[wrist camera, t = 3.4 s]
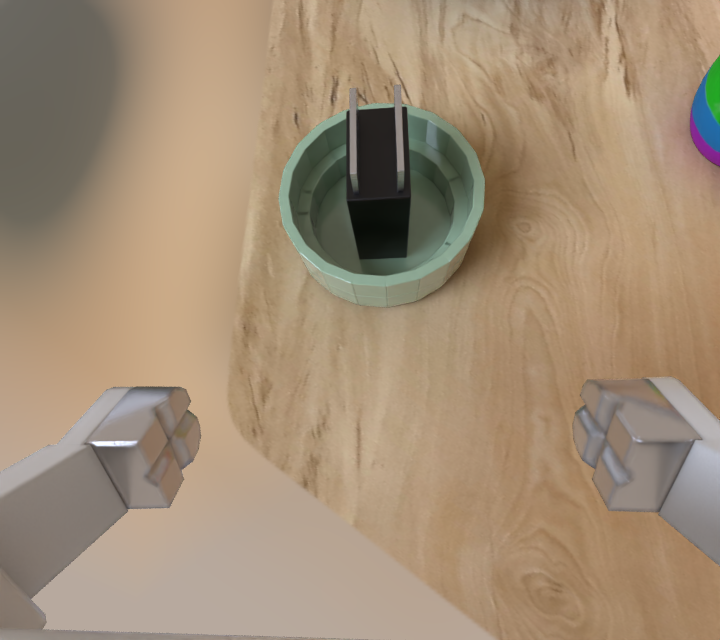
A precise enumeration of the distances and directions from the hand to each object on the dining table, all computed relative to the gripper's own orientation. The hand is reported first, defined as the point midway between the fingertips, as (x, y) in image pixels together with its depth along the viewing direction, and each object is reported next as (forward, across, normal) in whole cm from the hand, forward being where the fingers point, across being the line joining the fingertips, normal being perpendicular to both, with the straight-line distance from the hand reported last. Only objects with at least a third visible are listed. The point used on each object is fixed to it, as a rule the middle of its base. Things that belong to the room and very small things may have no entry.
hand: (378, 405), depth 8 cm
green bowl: (+20, 0, -2) cm, 20 cm away
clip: (+19, 0, -2) cm, 19 cm away
